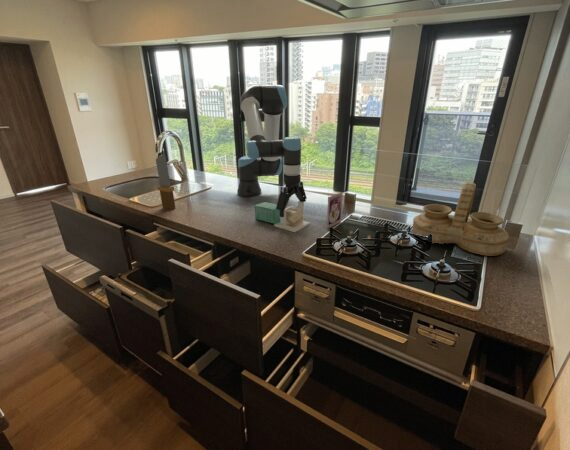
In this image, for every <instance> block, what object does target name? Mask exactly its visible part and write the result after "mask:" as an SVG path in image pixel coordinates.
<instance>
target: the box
mask: <svg viewBox="0 0 570 450" xmlns="http://www.w3.org/2000/svg"><path fill="white" fill-rule="evenodd" d="M276 206H277V203H272V202H271V203H270V202H268V201H267V202H266V201H264V202H261V203H257V204H254V214H255V216H254V217H255V220H258V221H262V222H266V223H270V224H273V225H274V224H276V223H278V222H280V210H278V209H276Z"/></svg>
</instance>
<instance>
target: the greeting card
mask: <svg viewBox="0 0 570 450" xmlns="http://www.w3.org/2000/svg"><path fill="white" fill-rule="evenodd" d="M327 194H328V195H327V213H326V229H329V228H332V227H333V226H335V225H337V224H339V223H341V220H342V208H343V207H342V206H343V194H344V193H343V191H341V192H338V193H335V194H333V195H331V196H329V194H330V193H329V190H328V192H327Z"/></svg>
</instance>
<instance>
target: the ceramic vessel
mask: <svg viewBox="0 0 570 450" xmlns="http://www.w3.org/2000/svg"><path fill="white" fill-rule="evenodd" d="M476 188H477V184H476V183H474V182H470V181H468V182H467V181H466V183H464V184H463V186H462V188H461V192H460V194H459V198H458V200H457V201H458V202H457V204H456V208H455V211H454V214H453V217H452V216H450V214H451V213H452V212H453V209H452V208H451V207H450V206H448V205H443V204H435V203H431V204H426V205H424V206H423V207H422V210H423V211H424V213H420V214H418V215H416V216H414V218H413V219H412V220H413V222H412V228H411V232H413V233H414V234H418V235H421V236H425V237H426V236H428V235H430V234H431V235H432V243H431V244H434V243H439V244H438V245H440V244H441V245H444V243H446V244H456V245H457V246H458V247H459V248H461V249H463V250H465V251H468V252H470V253H472V254H477V255H480V256H489V257H490V256H491V257H492V256H499V255H502V254H504V253H505V252H506V250H507V247H508V243H509V242H508V241H509V239H510V238H509V237H510V235H509V233H508V232H507V231H506V230H505V229H504V228H503V227H500V225H502V224H503V223H504V218H502V217H501V216H499V215H497V214H495V213H490V212H485V211H475V212H472V213H471V211H472V206H473V202H474V199H475V198H474V197H475V193H476ZM469 218H470V219H471V220H470V221H468V219H469ZM413 233H412V234H413Z"/></svg>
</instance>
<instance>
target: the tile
mask: <svg viewBox="0 0 570 450" xmlns="http://www.w3.org/2000/svg"><path fill="white" fill-rule="evenodd" d="M310 223H311V222H310V221H305V220H303V223H302V224H300V225H298V226H296V227H290V226H287V225H283V224H282V223H280V222H278V223H276V224H273V226H274V227H277V228H279V229H282V230H286V231H290V232H294V233H297V232H298V231H300V230H302V229H304V228H306V227H307V226H309V225H310Z"/></svg>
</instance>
